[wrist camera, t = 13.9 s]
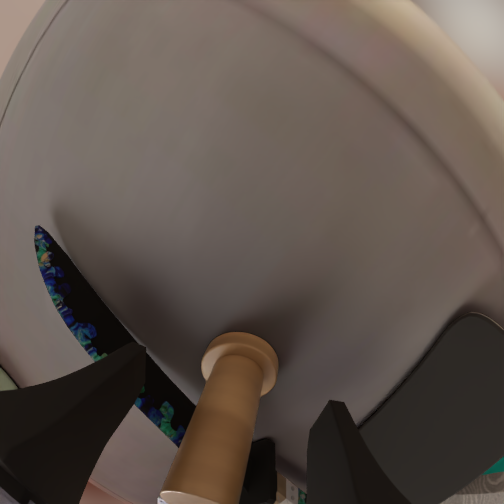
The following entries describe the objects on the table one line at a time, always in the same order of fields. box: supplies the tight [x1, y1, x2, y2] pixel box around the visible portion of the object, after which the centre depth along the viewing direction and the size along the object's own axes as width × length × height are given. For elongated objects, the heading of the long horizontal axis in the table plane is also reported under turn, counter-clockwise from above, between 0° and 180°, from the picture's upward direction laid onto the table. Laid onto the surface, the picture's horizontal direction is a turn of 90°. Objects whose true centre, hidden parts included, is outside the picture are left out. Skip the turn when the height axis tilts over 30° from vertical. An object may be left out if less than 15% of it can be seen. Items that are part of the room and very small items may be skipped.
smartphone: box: [358, 312, 504, 504], centre depth 10 cm, size 8×1×15 cm
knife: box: [34, 225, 307, 504], centre depth 13 cm, size 30×3×4 cm, turn 36°
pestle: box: [160, 332, 279, 504], centre depth 10 cm, size 4×4×8 cm
